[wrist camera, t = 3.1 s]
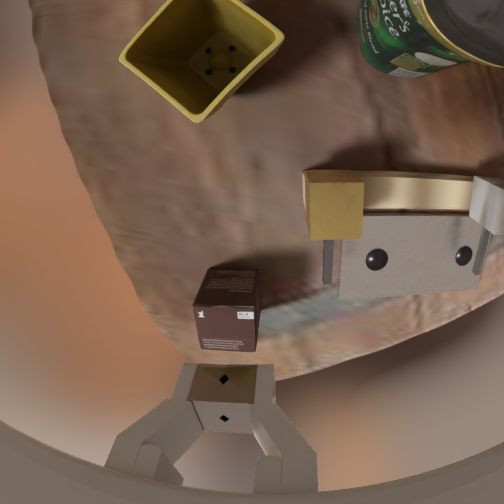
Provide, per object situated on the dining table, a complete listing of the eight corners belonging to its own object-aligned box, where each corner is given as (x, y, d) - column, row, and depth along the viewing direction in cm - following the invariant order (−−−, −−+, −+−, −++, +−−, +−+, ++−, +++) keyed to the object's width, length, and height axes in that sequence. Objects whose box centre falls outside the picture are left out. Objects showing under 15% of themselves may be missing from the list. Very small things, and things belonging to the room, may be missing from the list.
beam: (495, 173, 25) (537, 193, 18) (481, 254, 30) (514, 287, 22) (301, 163, 28) (309, 182, 21) (304, 261, 32) (309, 305, 25)
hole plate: (490, 214, 27) (495, 217, 26) (473, 284, 32) (477, 289, 30) (341, 213, 30) (343, 217, 29) (337, 294, 34) (338, 300, 33)
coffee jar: (350, -11, 19) (416, -113, 2) (421, 5, 18) (530, -52, 2) (355, 72, 23) (458, 25, 7) (427, 85, 22) (564, 84, 6)
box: (212, 308, 37) (198, 349, 30) (207, 266, 34) (190, 304, 27) (261, 311, 36) (256, 353, 29) (260, 268, 33) (254, 307, 27)
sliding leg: (349, 169, 24) (364, 182, 20) (344, 276, 29) (354, 305, 25) (304, 170, 25) (309, 183, 20) (305, 277, 29) (309, 307, 25)
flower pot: (222, 122, 27) (196, 126, 19) (160, 70, 25) (115, 58, 16) (286, 59, 23) (288, 36, 15) (219, 8, 21) (195, -28, 13)
